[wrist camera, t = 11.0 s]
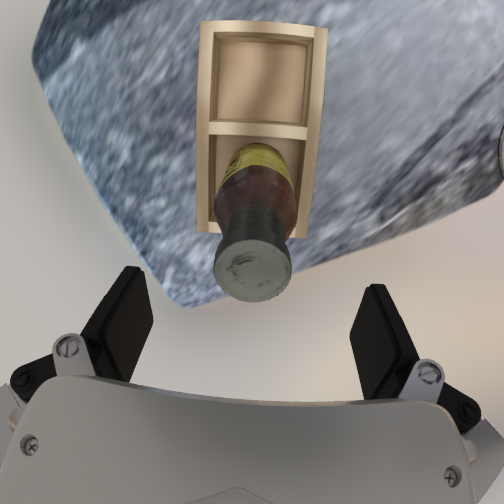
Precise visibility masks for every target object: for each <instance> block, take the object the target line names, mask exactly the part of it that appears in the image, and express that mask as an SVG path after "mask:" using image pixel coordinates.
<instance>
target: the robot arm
mask: <svg viewBox="0 0 504 504" xmlns="http://www.w3.org/2000/svg"><path fill="white" fill-rule="evenodd" d="M499 161H500V168H501V172H502V175H503V177H504V129H503V132H502V135H501V139H500V146H499ZM152 325H153V314H152V309H151V305H150V300H149V295H148V290H147V285H146V279H145V274H144V272H143V271H141V269H140V268H139V267H134V266H126V267H125V268H124V270H123V271H122V272H121V274H120V275H119V277H118V278H117V280H116V281H115V282H114V284H113V285H112V287H111V288H110V290H109V291H108V293H107V294H106V295H105V296H104V298H103V299H102V301H101V302H100V304H99V305H98V307H97V308H96V310H95V311H94V313H93V314H92V316H91V318H90V319H89V321H88V322H87V324H86V326H85V327H84V329H83V330H82V332H81V334H80V335H78V334H76V333H69V334H65V335H63V336H61V337H60V338H58V339H57V340H56V342H55V343H54V345H53V350H52V352H53V353H52V354H50V355H47V356H45V357H42V358H40V359H37V360H35V361H33V362H30V363H28V364H25V365H23V366H21V367H19V368H17V369H16V370H15V371H14V372H13V374H12V376H11V379H10V384H9V385H7V384H6V383H5V384H4V385H3V386H1V387H0V504H477V503H478V502H479V501H480V499H481V498H482V497H483V496H484V494H485V493H486V492H487V490H488V489H489V487H490V486H491V485H492V483H493V482H494V480H495V479H496V477H497V476H498V474H499V473H500V471H501V470H502V468H503V467H504V439H503V437H502V436H501V435H500V434H499V433H498V432H497V431H496V430H495V428H494V427H493V426H492V425H491V424H490V423H489V422H488V421H487V420H486V419H484V420H482V419H481V409H480V407H479V405H478V404H477V402H476V401H474V400H473V399H471V398H470V397H468V396H467V395H465V394H463V393H461V392H460V391H458V390H457V389H455V388H453V387H451V386H450V385H448V384H447V383H445V382H444V380H445V374H444V371H443V369H442V367H441V366H440V365H439V364H438V363H436V362H435V361H433V360H430V359H421V360H420V358H419V356H418V353H417V351H416V349H415V347H414V344H413V342H412V340H411V337H410V335H409V333H408V331H407V329H406V326H405V324H404V322H403V320H402V318H401V316H400V315H399V313H398V310H397V308H396V306H395V304H394V302H393V300H392V298H391V296H390V294H389V292H388V290H387V288H386V286H385V285H384V284H371V285H370V287H367V288H366V289H365V292H364V295H363V298H362V301H361V304H360V307H359V309H358V312H357V315H356V318H355V320H354V323H353V326H352V328H351V331H350V342H351V346H352V350H353V354H354V358H355V362H356V366H357V370H358V374H359V379H360V383H361V388H362V392H363V396H364V400H357V401H333V402H281V401H257V400H244V399H231V398H222V397H212V396H203V395H195V394H188V393H182V392H176V391H169V390H164V389H158V388H153V387H148V386H142V385H137V384H132V383H129V382H130V379H131V377H132V374H133V372H134V369H135V366H136V364H137V361H138V359H139V356H140V354H141V351H142V349H143V347H144V344H145V342H146V339H147V337H148V335H149V332H150V330H151V328H152Z"/></svg>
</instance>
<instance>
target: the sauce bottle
mask: <svg viewBox="0 0 504 504" xmlns="http://www.w3.org/2000/svg"><path fill="white" fill-rule="evenodd" d="M214 216H215V219H216V221H217V223H218V225H219V227H220V230H221V232H222V234H223V240H222V241H221V242H220V244H219V246H218V248H217V251H216V254H215V261H214V268H213V269H214V276H215V279H216V281H217V283H218V284H219V286H220V287H221V288H222V290H223V291H224V292H226V293H227V294H229V295H230V296H232V297H234V298H236V299H238V300H240V301H245V302H262V301H265V300H270V299H271V298H273V297H275V296H278V295H279V293H281V292H282V291H283V290H284V289H285V288H286V287H287V285H288V283H289V281H290V278H291V273H292V265H291V259H290V254H289V251H288V249H287V246H286V244H285V242H286V240H287V239H288V238H289V237H290V235H291V233H292V232H293V230H294V227H295V225H296V220H297V207H296V203H295V194H294V190H293V186H292V183H291V179H290V176H289V173H288V169H287V166H286V163H285V161H284V159H283V157H282V155H281V154H280V153H279V152H278V151H277V150H276V149H275V148H273V147H271V146H269V145H267V144H264V143H258V142H257V143H251V144H248V145H246V146H244V147H243V148H240V149H239V150H238V151H237V152H236V153H235V154H234V155H233V157H232V158H231V160H230V163H229V165H228V167H227V170H226V172H225V174H224V176H223V179H222V182H221V184H220V187H219V189H218V192H217V195H216V197H215V201H214Z"/></svg>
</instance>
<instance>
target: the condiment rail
mask: <svg viewBox="0 0 504 504" xmlns="http://www.w3.org/2000/svg"><path fill="white" fill-rule="evenodd" d="M327 31H328V29H326V28H320V27H314V26H307V25H299V24H290V23H280V22H266V21H201V31H200V45H199V63H198V84H197V117H196V200H197V232H211V233H222V232H221V230H220V227H219V225H218V223H217V221H216V219H215V216H214V201H215V197H216V195H217V192H218V189H219V187H220V184H221V182H222V179H223V176H224V174H225V172H226V170H227V167H228V165H229V163H230V160H231V158H232V157H233V155H234V154H235V153H236V152H237V151H238V150H239V149H240V148H243V147H244V146H246V145H248V144H251V143H257V142H258V143H264V144H267V145H269V146H271V147H273V148H275V149H276V150H277V151H278V152H279V153H280V154H281V155H282V157H283V159H284V161H285V163H286V166H287V169H288V173H289V176H290V179H291V183H292V186H293V190H294V194H295V203H296V207H297V220H296V225H295V227H294V230H293V232H292V233H291V235H290V237H292V238H306V235H307V229H308V222H309V215H310V208H311V201H312V194H313V186H314V178H315V170H316V162H317V154H318V145H319V136H320V126H321V116H322V105H323V93H324V81H325V67H326V51H327Z"/></svg>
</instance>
